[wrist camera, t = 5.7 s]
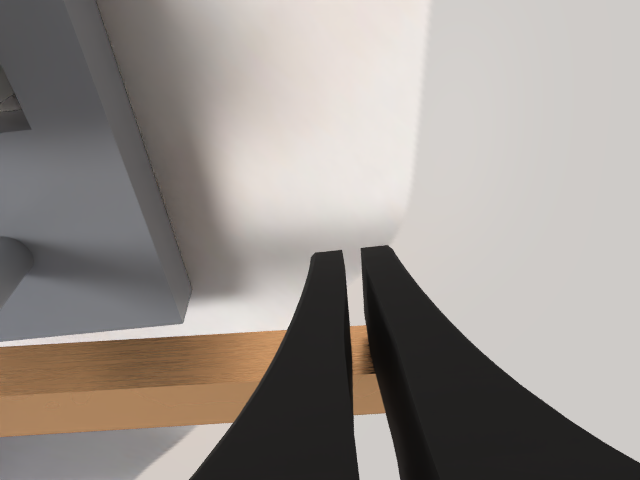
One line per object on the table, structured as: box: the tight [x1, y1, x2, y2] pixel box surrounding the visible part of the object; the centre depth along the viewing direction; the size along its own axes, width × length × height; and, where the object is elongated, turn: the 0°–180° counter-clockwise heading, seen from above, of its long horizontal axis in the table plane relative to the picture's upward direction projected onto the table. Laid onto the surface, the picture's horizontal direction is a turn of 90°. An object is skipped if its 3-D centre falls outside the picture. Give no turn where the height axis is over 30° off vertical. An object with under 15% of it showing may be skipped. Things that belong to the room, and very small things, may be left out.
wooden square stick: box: [0, 325, 386, 437], centre depth 12 cm, size 14×2×2 cm, turn 92°
